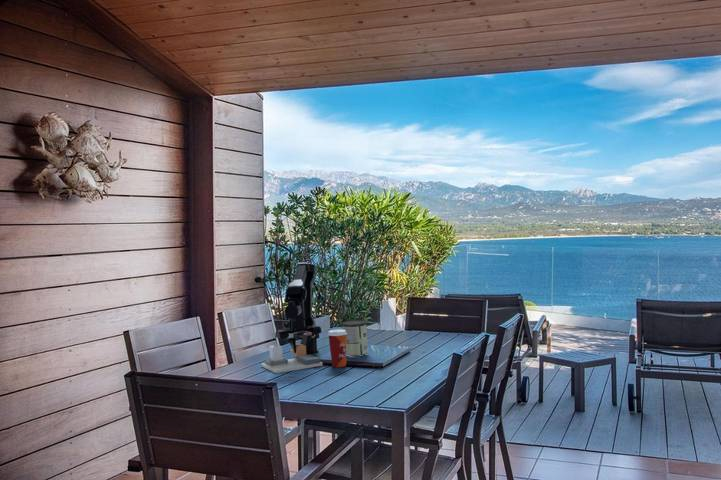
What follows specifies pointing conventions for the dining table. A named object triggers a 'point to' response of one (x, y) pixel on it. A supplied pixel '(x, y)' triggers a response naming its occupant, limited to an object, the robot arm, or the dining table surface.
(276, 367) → the board
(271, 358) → the block
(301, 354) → the cable plug
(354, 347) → the coffee can
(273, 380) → the dining table surface
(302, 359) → the grey piece
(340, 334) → the paper cup
